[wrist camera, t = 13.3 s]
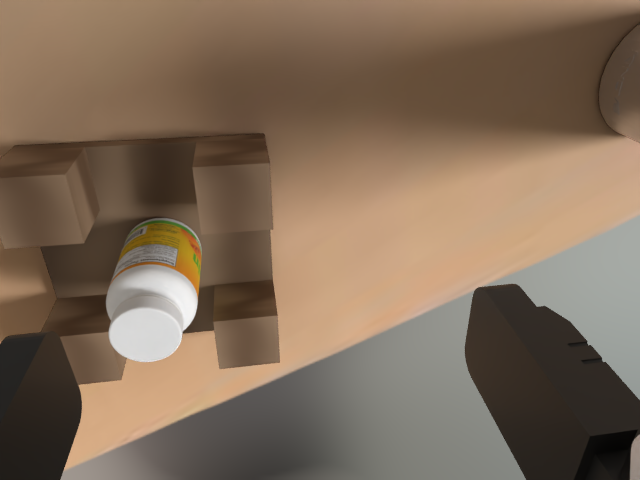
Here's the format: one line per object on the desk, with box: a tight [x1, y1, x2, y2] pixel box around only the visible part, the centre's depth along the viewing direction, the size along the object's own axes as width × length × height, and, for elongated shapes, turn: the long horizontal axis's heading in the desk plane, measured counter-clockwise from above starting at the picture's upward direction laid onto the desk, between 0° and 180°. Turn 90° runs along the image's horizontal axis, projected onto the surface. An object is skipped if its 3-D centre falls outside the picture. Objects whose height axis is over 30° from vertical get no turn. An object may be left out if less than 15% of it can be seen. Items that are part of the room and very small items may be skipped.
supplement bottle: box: [106, 218, 202, 362], centre depth 32 cm, size 5×5×10 cm
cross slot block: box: [0, 134, 280, 385], centre depth 35 cm, size 16×16×6 cm
